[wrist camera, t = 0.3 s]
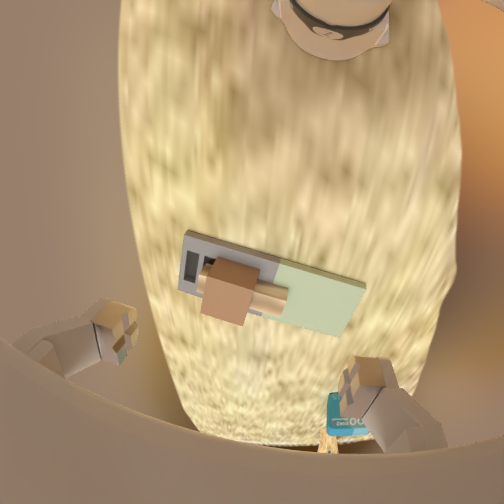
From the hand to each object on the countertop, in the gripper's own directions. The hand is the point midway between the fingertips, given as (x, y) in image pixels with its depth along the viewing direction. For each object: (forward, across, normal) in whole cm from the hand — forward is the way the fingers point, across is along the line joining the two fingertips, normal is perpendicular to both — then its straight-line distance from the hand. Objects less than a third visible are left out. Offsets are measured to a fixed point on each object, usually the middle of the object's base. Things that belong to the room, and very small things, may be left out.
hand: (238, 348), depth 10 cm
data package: (+45, -29, +52) cm, 74 cm away
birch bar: (+40, +4, +20) cm, 44 cm away
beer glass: (+47, -31, +74) cm, 93 cm away
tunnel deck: (+42, 0, +20) cm, 46 cm away
